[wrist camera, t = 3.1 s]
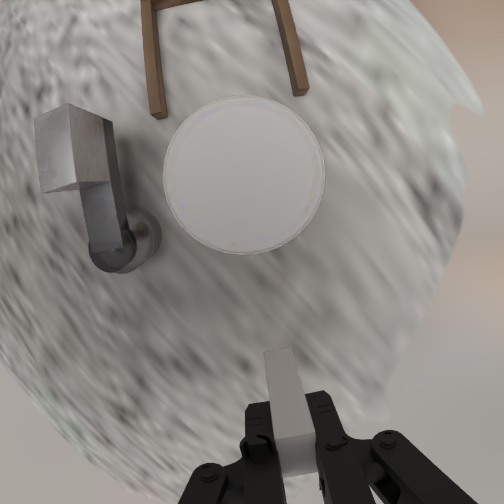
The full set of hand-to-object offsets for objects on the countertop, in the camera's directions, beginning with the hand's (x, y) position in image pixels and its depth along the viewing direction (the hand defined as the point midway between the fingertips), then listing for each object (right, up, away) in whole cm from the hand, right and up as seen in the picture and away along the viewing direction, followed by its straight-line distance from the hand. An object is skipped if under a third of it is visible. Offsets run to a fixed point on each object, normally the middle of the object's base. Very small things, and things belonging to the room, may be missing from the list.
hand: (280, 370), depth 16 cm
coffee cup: (-2, +13, +12) cm, 18 cm away
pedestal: (-13, +8, +13) cm, 20 cm away
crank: (-13, +11, +7) cm, 18 cm away
